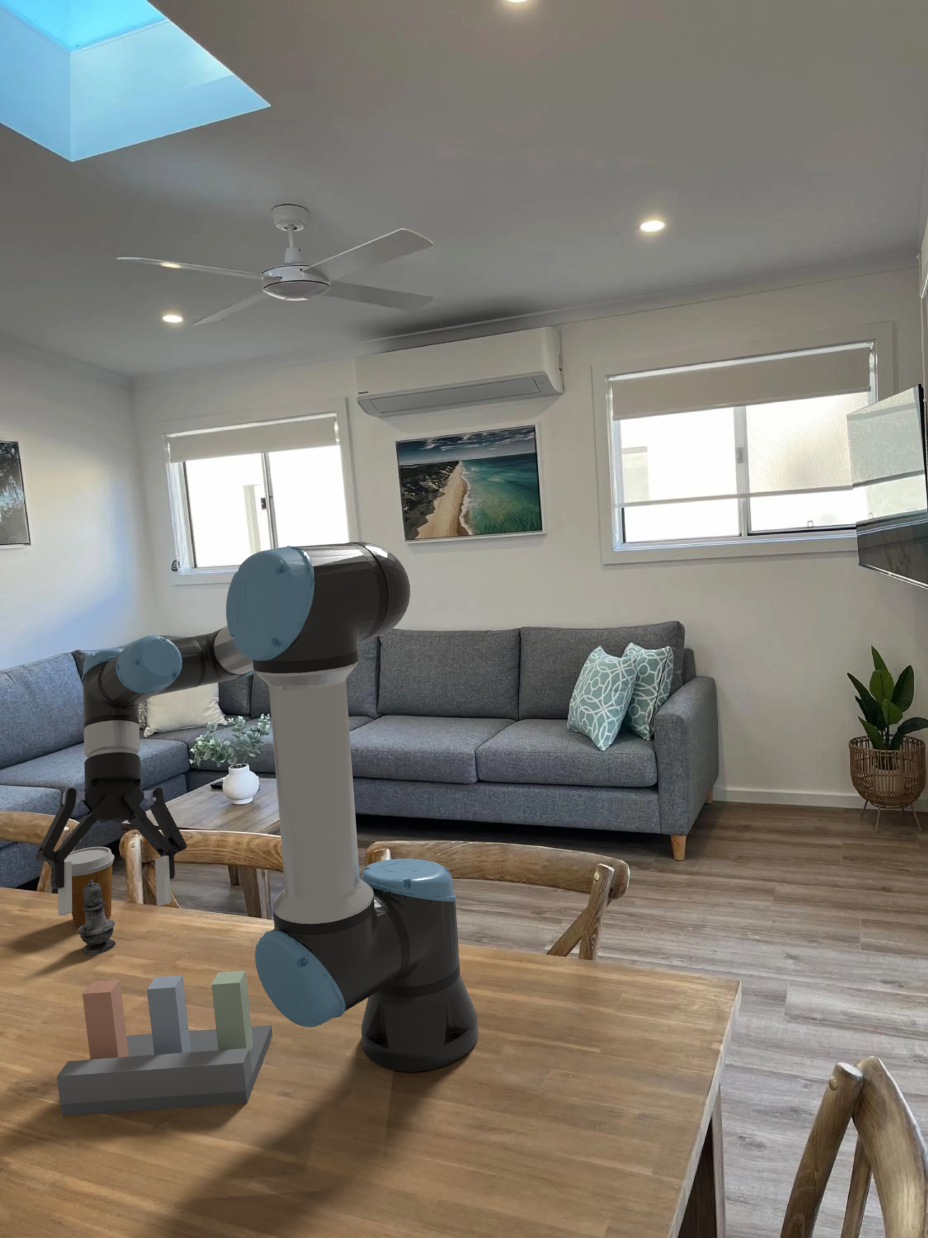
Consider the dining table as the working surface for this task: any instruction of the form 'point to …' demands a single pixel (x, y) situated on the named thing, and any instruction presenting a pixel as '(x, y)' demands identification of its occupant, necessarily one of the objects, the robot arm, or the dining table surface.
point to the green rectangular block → (232, 1011)
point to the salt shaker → (95, 922)
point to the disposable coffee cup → (87, 867)
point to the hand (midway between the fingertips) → (116, 909)
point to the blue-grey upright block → (168, 1015)
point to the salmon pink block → (105, 1020)
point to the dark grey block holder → (163, 1076)
